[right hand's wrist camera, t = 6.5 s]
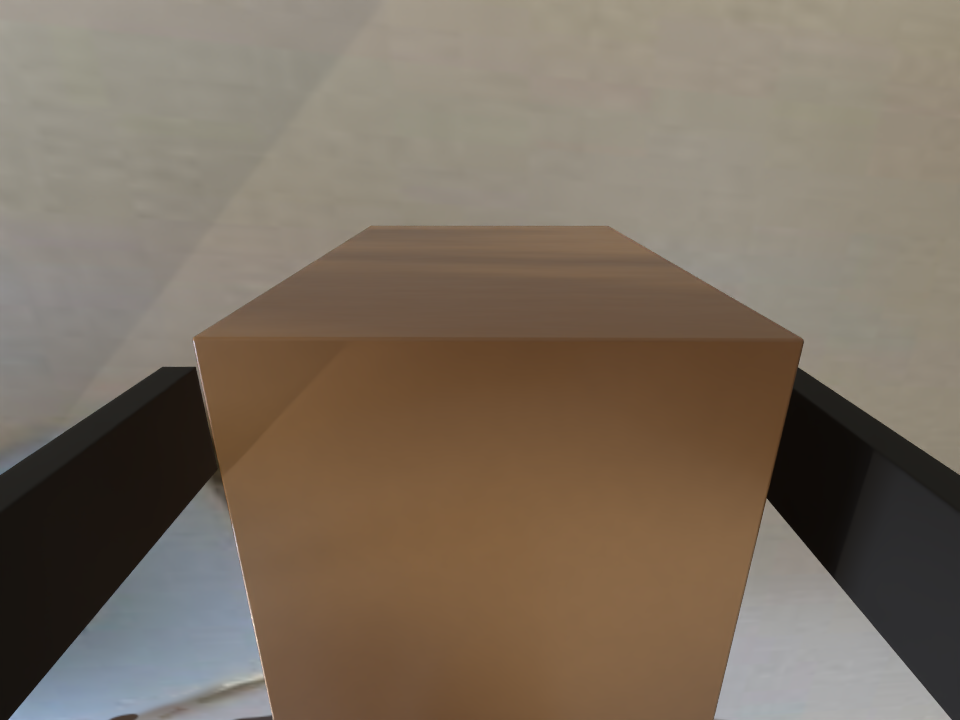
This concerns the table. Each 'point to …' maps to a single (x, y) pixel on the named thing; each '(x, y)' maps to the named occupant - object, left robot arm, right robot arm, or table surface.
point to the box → (495, 475)
